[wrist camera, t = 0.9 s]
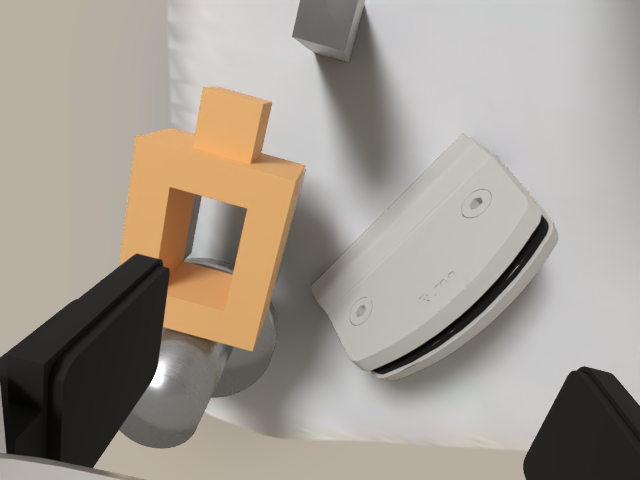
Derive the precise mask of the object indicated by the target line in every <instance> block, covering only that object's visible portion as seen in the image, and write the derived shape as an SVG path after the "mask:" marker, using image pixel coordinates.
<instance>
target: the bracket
mask: <svg viewBox="0 0 640 480" xmlns="http://www.w3.org/2000/svg"><path fill="white" fill-rule="evenodd" d="M271 106H272V102H270V101H267V100H263V99H260V98H256V97H252V96H249V95H245V94H242V93H238V92H235V91H231V90H228V89H224V88H221V87H203V91H202V97H201V103H200V108H199V114H198V120H197V126H196V132H195V134H191V133H188V132H184V131H181V130H177V129H174V128H169V129H165V130H161V131H156V132H153V133H148V134H144V135H140V136H136V138H135V146H134V154H133V162H132V170H131V178H130V186H129V194H128V202H127V210H126V218H125V226H124V234H123V242H122V250H121V258H120V265H122V264H123V263H124V262H125V261H127V260H128V259H129V258H131V257H132V256H133V255H135V254H136V253H137V254H141V255H145V256H149V257H153V258H157V259H161V260H162V261H163V267H167V268H169V270H170V276H169V284H168V292H167V299H166V307H165V315H164V323H163V327H165V328H168V329H172V330H176V331H179V332H183V333H187V334H190V335H194V336H198V337H201V338H205V339H209V340H212V341H216V342H219V343H223V344H227V345H230V346H234V347H238V348H241V349H245V350H249V351H252V352H253V349H254V347H255V344H256V341H257V339H258V336H259V334H260V331H261V329H262V326H263V323H264V321H265V318H266V316H267V313H268V309H269V305H270V301H271V298H272V294H273V290H274V286H275V282H276V278H277V274H278V270H279V266H280V263H281V259H282V255H283V251H284V247H285V243H286V239H287V235H288V231H289V228H290V224H291V220H292V216H293V212H294V208H295V204H296V200H297V196H298V193H299V189H300V185H301V181H302V177H303V173H304V169H305V165H302V164H298V163H295V162H291V161H287V160H284V159H280V158H277V157H273V156H270V155H266V154H263V153H261V151H262V146H263V142H264V137H265V133H266V128H267V124H268V119H269V115H270V110H271ZM195 194H197V195H201V196H204V197H208V198H211V199H215V200H219V201H222V202H226V203H229V204H233V205H236V206H240V207H244V208H247V212H246V217H245V221H244V226H243V230H242V235H241V239H240V244H239V249H238V253H237V258H236V262H235V267H234V271H233V275H231V274H228V273H224V272H221V271H217V270H213V269H210V268H206V267H203V266H199V265H195V264H192V263H188V262H184V261H183V259H184V254H185V248H186V242H187V237H188V231H189V226H190V220H191V214H192V209H193V203H194V197H195Z"/></svg>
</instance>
